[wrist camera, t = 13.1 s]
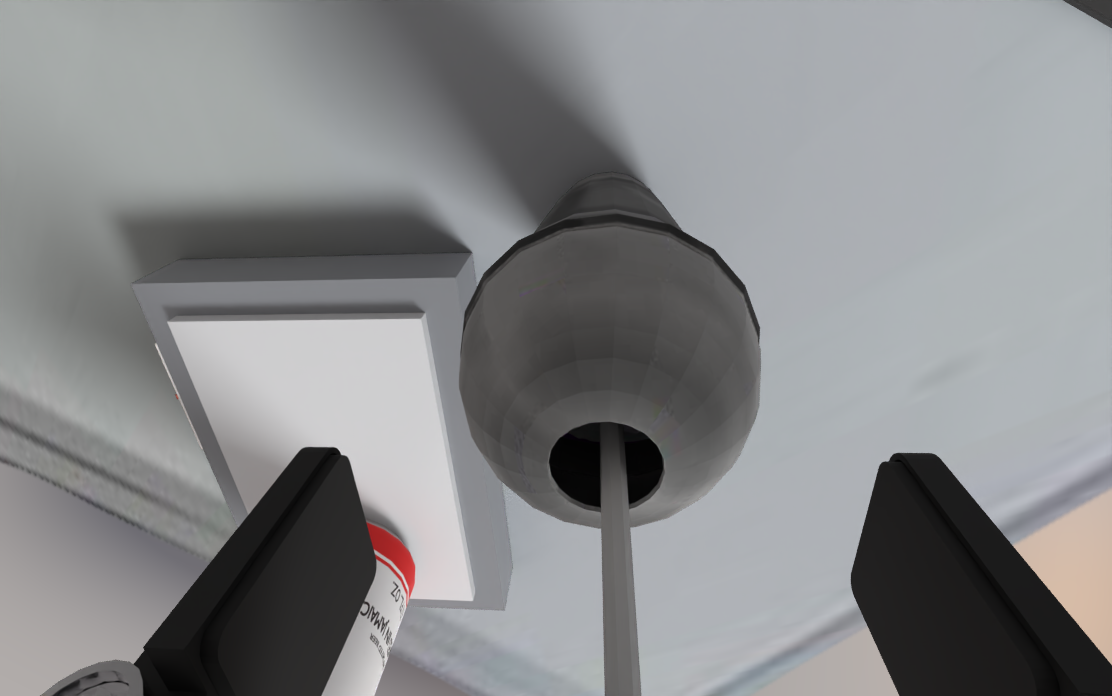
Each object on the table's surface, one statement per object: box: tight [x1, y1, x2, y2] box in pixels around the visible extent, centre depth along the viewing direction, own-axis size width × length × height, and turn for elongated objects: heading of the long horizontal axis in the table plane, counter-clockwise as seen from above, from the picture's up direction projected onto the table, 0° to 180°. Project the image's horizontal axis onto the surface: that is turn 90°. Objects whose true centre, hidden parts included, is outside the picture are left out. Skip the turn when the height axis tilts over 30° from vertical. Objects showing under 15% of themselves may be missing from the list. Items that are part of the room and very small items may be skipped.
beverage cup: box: [459, 172, 761, 696], centre depth 15 cm, size 7×7×20 cm
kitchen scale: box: [131, 253, 513, 611], centre depth 29 cm, size 20×15×4 cm
